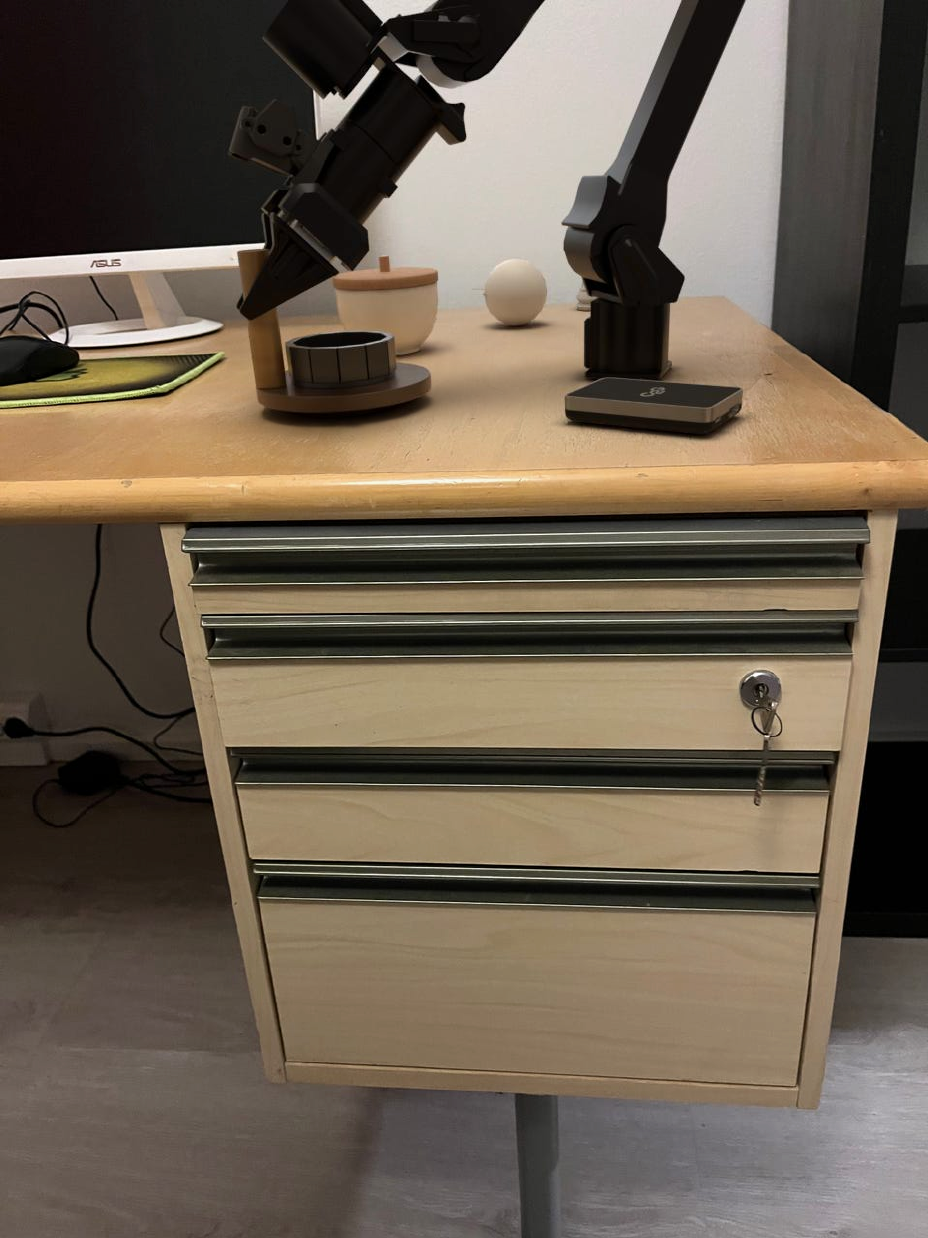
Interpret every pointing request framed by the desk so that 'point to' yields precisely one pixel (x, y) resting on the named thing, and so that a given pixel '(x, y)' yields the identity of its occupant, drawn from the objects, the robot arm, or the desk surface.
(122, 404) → the desk surface
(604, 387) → the external hard drive
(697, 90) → the robot arm
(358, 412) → the turntable hub
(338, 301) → the trinket box
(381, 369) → the turntable
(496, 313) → the seamed sphere
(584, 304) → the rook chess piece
